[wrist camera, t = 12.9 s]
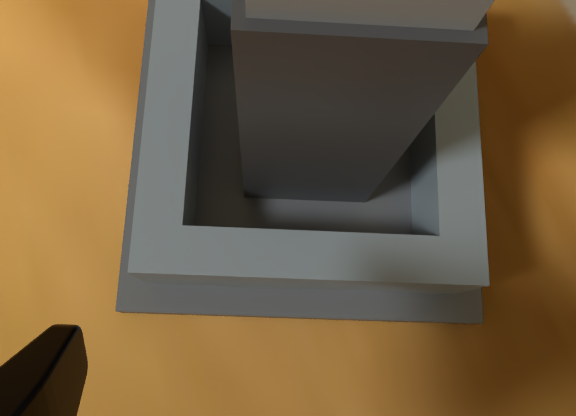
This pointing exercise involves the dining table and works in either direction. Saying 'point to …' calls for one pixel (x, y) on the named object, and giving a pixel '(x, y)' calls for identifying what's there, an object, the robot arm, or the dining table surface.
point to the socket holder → (289, 204)
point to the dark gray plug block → (342, 87)
